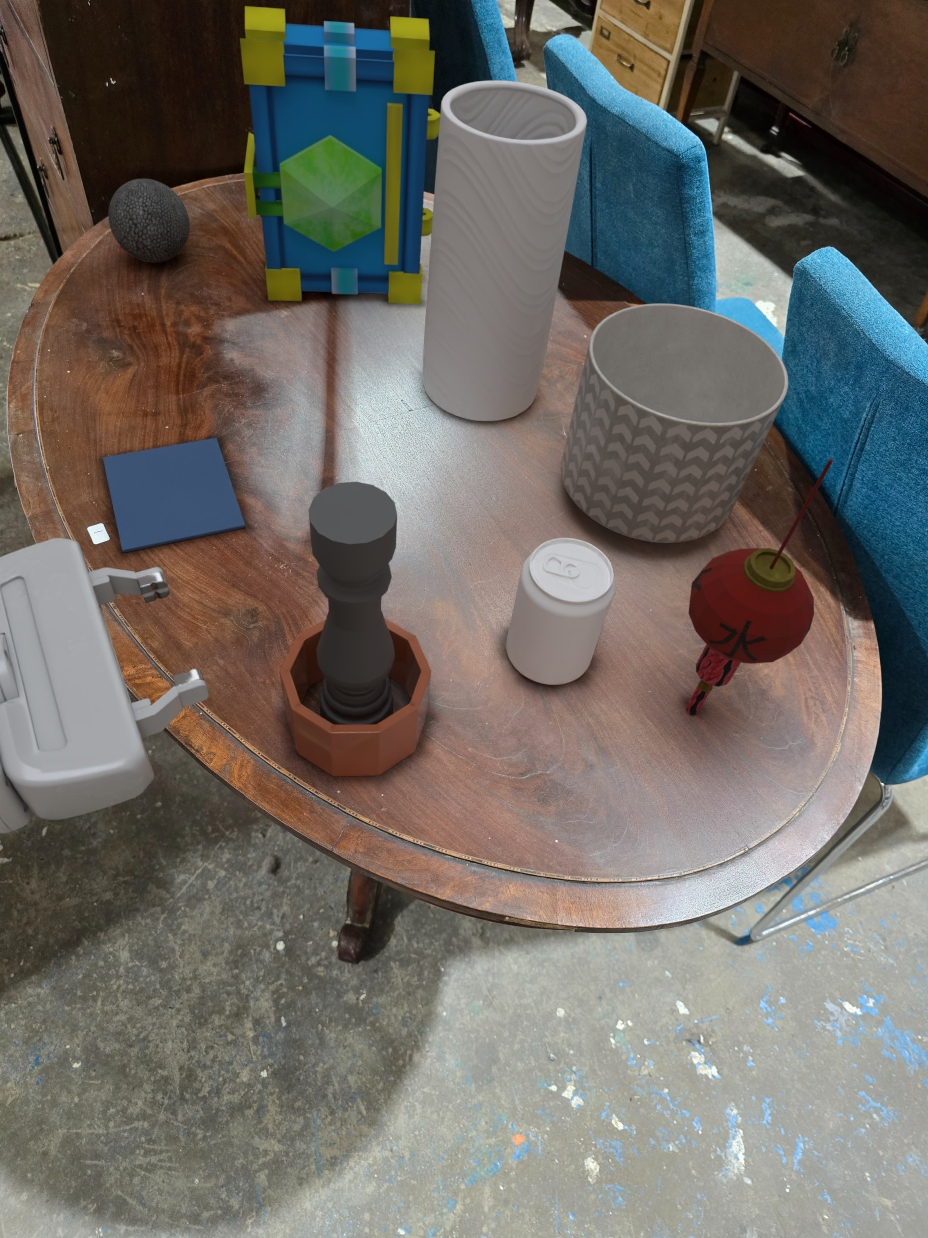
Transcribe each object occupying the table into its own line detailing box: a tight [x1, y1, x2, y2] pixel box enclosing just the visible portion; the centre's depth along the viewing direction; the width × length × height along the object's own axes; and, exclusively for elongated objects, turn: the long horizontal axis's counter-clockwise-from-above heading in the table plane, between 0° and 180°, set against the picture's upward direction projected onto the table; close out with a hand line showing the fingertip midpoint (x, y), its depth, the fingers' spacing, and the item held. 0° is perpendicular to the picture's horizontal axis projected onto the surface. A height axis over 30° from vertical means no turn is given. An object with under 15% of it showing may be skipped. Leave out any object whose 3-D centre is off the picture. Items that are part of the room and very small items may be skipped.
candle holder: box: [308, 481, 398, 725], centre depth 65 cm, size 6×6×25 cm
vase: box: [422, 80, 588, 422], centre depth 93 cm, size 14×14×32 cm
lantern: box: [685, 458, 834, 717], centre depth 67 cm, size 10×10×30 cm
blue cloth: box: [102, 437, 246, 554], centre depth 89 cm, size 12×14×1 cm
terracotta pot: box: [279, 617, 432, 777], centre depth 72 cm, size 12×12×7 cm
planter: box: [560, 303, 789, 544], centre depth 88 cm, size 19×19×18 cm
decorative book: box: [239, 5, 441, 305], centre depth 105 cm, size 14×23×30 cm, turn 96°
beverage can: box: [505, 537, 617, 686], centre depth 76 cm, size 8×8×12 cm
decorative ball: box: [107, 178, 191, 263], centre depth 113 cm, size 10×10×10 cm
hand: (184, 629), depth 58 cm, fingers open, 8 cm apart
